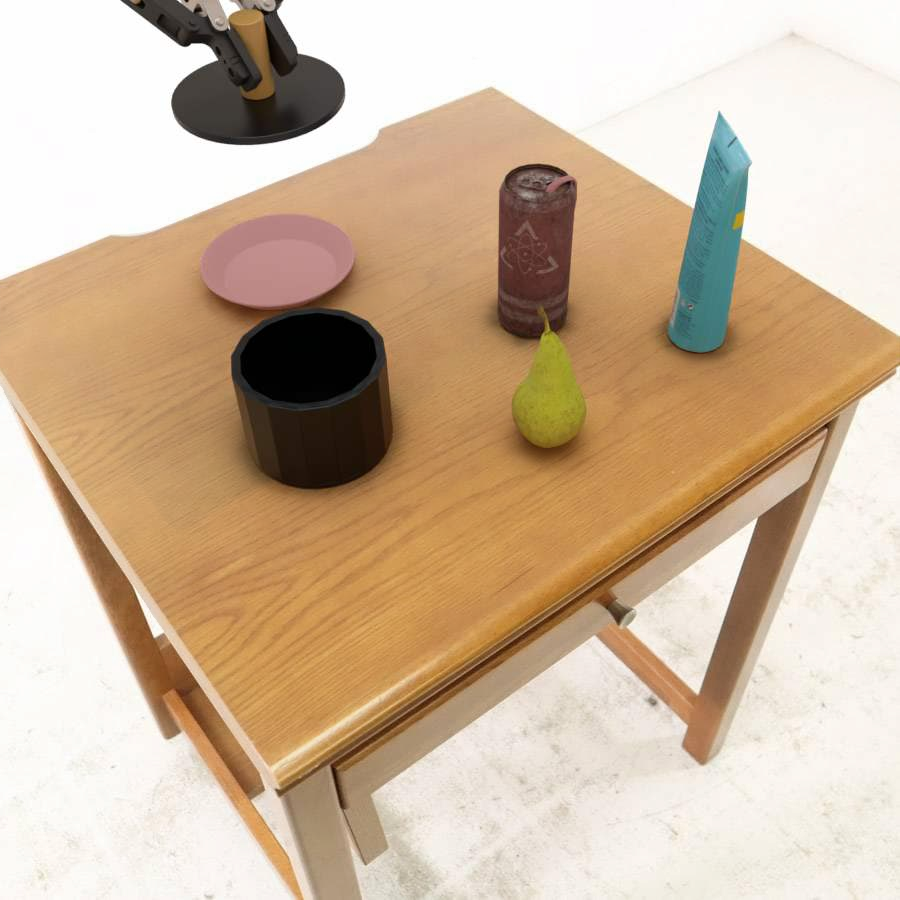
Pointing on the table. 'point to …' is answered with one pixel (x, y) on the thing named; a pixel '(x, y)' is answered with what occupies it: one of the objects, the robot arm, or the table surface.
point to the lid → (257, 95)
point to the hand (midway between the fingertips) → (272, 77)
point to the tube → (712, 245)
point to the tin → (313, 396)
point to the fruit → (549, 395)
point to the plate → (277, 261)
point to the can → (535, 247)
